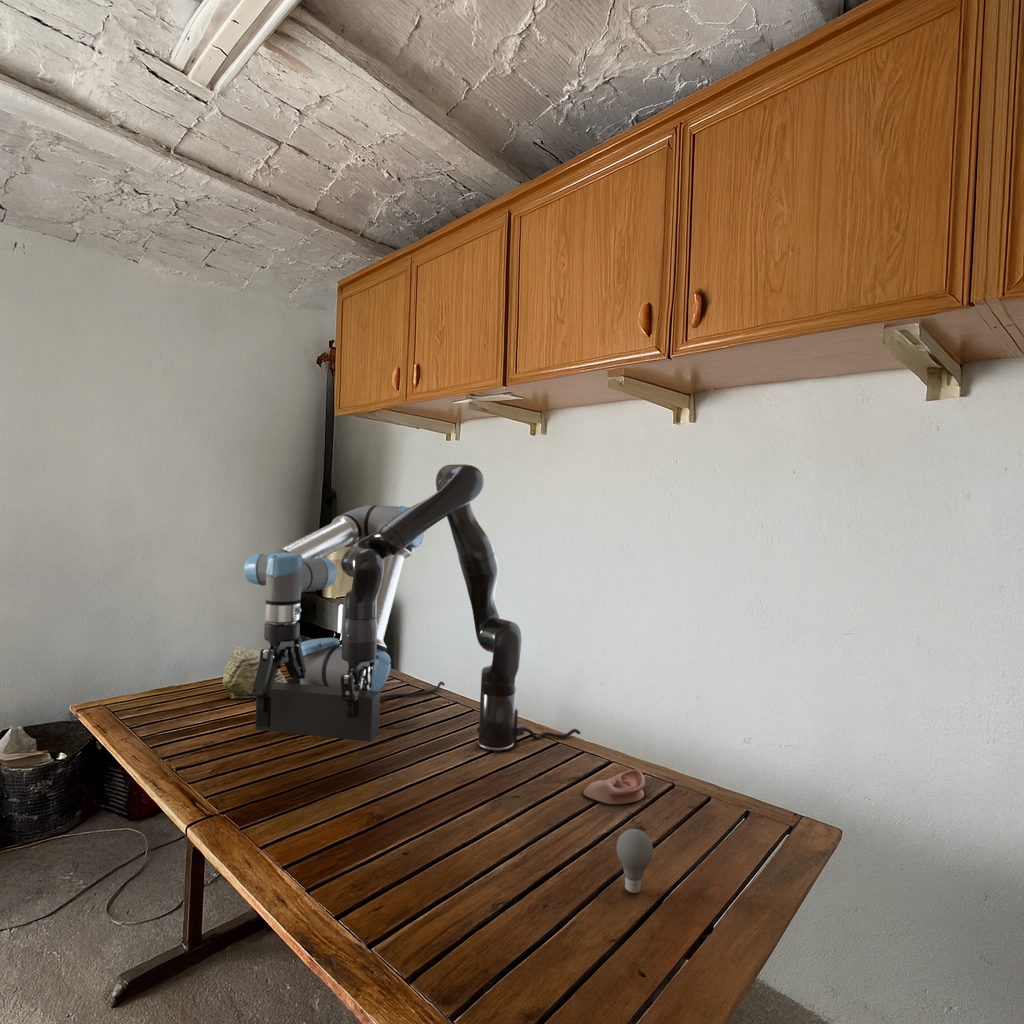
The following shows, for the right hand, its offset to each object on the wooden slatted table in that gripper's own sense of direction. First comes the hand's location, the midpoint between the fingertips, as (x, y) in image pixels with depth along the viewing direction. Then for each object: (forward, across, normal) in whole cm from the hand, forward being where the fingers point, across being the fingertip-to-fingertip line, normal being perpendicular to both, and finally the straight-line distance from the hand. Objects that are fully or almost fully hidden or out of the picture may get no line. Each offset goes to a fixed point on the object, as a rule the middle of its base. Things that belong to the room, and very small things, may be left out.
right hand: (357, 713), depth 140 cm
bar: (+5, 0, +9) cm, 10 cm away
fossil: (+16, +50, +54) cm, 75 cm away
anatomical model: (+16, +9, -57) cm, 60 cm away
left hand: (+2, 0, +18) cm, 19 cm away
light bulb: (+16, -26, -60) cm, 67 cm away
